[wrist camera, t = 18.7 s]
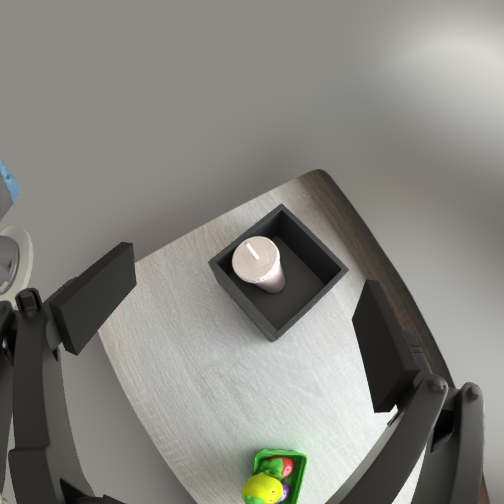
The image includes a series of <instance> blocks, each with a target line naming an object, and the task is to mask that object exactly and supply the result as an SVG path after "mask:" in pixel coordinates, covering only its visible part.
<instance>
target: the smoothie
mask: <svg viewBox="0 0 504 504" xmlns="http://www.w3.org/2000/svg"><path fill="white" fill-rule="evenodd" d="M279 260H280V255H279V251H278V249H277V247H276V246H275V244H274V243H273V242H272V241H271V240H270V239H268V238H265V237H261V236H256V237H251V238H249V239H247V240H245V241H243V242H242V243H241V244H240V245H239V246H238V247H237V249H236V250H235V252H234V255H233V259H232V265H233V268H234V271H235V272H236V274H237V275H238V276H239V277H240V278H241V279H242V280H244V281H246V282H249V283H253V284H255V285H257V286H258V287H260V288H262V289H264V290H265V291H267V292H269V293H278V292H280V291H281V290H282V289H283V288H284V286H285V277H284V274H283V271H282V267H281V264H280V261H279Z"/></svg>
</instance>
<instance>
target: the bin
mask: <svg viewBox="0 0 504 504" xmlns="http://www.w3.org/2000/svg"><path fill="white" fill-rule="evenodd" d="M256 236H261V237H265V238H268V239H270V240H271V241H272V242H273V243H274V244H275V246H276V247H277V249H278V251H279V255H280V260H279V261H280V264H281V267H282V271H283V274H284V277H285V286H284V288H283V289H282V290H281V291H280V292H278V293H269V292H267V291H265V290H264V289H262V288H260V287H258V286H257V285H255V284H253V283H249V282H246V281H244V280H242V279H241V278H240V277H239V276H238V275H237V274H236V272H235V271H234V268H233V265H232V259H233V255H234V252H235V250H236V249H237V247H238V246H239V245H240V244H241V243H242V242H243V241H245V240H247V239H249V238H251V237H256ZM208 263H209V265H210V267H211V269H212V271H213V273H214V275H215V277H216V279H217V281H218V282H219V284H220V285H221V286H222V287H223V288H224V289H225V291H226V292H227V293H228V294H229V295H230V296H231V297H232V299H233V300H234V301H235V302H236V303H237V304H238V305H239V307H240V308H241V309H242V310H243V311H244V312H245V313H246V314H247V316H248V317H249V318H250V319H251V320H252V321H253V322H254V323H255V324H256V326H257V327H258V328H259V329H260V330H261V331H262V332H263V333H264V334H265V335H266V337H267V338H268V339H269V340H270V341H271V342H274V341H275V340H277V339H278V338H279V337H281V336H282V335H283V334H284V333H285V332H286V331H287V330H288V329H289V328H290V327H292V326H293V325H294V324H295V323H296V322H297V321H298V320H299V319H300V318H301V317H302V316H303V315H304V314H306V313H307V312H308V311H309V310H310V309H311V308H312V307H313V306H314V305H315V304H316V303H317V302H318V301H319V300H320V299H321V298H322V297H323V296H324V295H325V294H326V293H327V292H328V291H329V290H330V289H331V288H332V287H333V286H334V285H335V284H336V283H337V282H338V281H339V280H340V279H341V278H342V277H343V276H344V275H345V274H346V273H347V272H348V271H349V269H348V268H347V267H346V266H345V265H344V264H343V263H342V262H341V261H340V260H339V259H338V258H337V257H336V256H335V255H334V254H333V253H332V251H331V250H330V249H329V248H328V247H327V246H326V245H325V244H324V243H322V242H321V241H320V240H319V239H318V238H317V237H316V236H315V235H314V234H313V233H312V232H311V231H310V230H309V229H308V228H307V227H306V226H305V225H304V224H303V223H302V222H301V221H300V220H299V219H298V218H297V217H296V216H295V215H294V214H293V213H292V212H290V211H289V210H288V209H287V208H286V207H285V206H284V205H283V204H280V205H279V206H278V207H276V208H275V209H274V210H272V211H271V212H270V213H269V214H267V215H266V216H265V217H264V218H262V219H261V220H260V221H259V222H257V223H256V224H255V225H253V226H252V227H251V228H250V229H248V230H247V231H246V232H245V233H243V234H242V235H241V236H240V237H238V238H237V239H236V240H235V241H233V242H232V243H231V244H230V245H228V246H227V247H226V248H225V249H223V250H222V251H221V252H220V253H218V254H217V255H216V256H215V257H213V258H212V259H211V260H210V261H208Z"/></svg>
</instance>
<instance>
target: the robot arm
mask: <svg viewBox="0 0 504 504" xmlns="http://www.w3.org/2000/svg"><path fill="white" fill-rule="evenodd" d="M19 194H20V186H19V184H18V182H17V181H16V179H15V178H14V176H13V175H12V174H11V172H10V171H9V169H8V168H7V166H6V165H5V163H4V162H3V160H2V159H1V158H0V220H1V219H2V218H3V217H4V215H5V214H6V213H7V211H8V210H9V209H10V207H11V206H12V205H13V204H14V201H15V200H16V199H17V197H18V196H19ZM19 261H20V251H19V246H18V244H17V242H16V241H15V240H14V239H12V238H10V237H8V236H1V235H0V295H3V294H5V293H6V292H7V291H8V290H9V289H10V287H11V286H12V284H13V282H14V280H15V278H16V275H17V272H18V268H19ZM136 285H137V284H136V275H135V264H134V253H133V244H132V243H126V242H121V243H120V244H119V245H117V246H116V247H115V248H113V249H112V250H111V251H109V252H108V253H107V254H106V255H104V256H103V257H102V258H101V259H99V260H98V261H97V262H96V263H95V264H93V265H92V266H91V267H89V268H88V269H87V270H86V271H84V273H82V274H81V275H80V276H79V277H75V278H73V279H71V280H69V281H67V282H66V283H65V284H64V285H63V286H62V287H60V288H59V289H58V291H56V292H55V293H53V294H52V295H51V296H50V297H49V298H48V299H47V300H46V301H45V302H43V303H42V301H41V298H40V295H39V292H38V290H37V289H35V288H26V289H23V290H21V291H20V292H18V293H17V294H16V296H15V301H16V304H17V306H18V309H19V310H13V307H12V304H11V302H9V301H7V300H4V301H0V504H8V502H7V501H6V500H5V499H4V498H3V497H2V491H3V487H4V480H5V471H6V457H7V446H8V437H9V430H10V423H11V418H12V412H13V425H14V437H15V448H14V449H12V450H10V451H9V453H8V461H9V467H10V474H11V479H12V484H13V489H14V493H15V498H16V501H17V504H125V503H123V502H120V501H118V500H116V499H114V498H111V497H109V496H107V495H105V494H104V496H103V498H101V497H95V495H94V492H93V490H92V488H91V486H90V485H89V483H88V482H87V480H86V479H85V477H84V475H83V472H82V469H81V466H80V463H79V459H78V456H77V452H76V448H75V444H74V440H73V436H72V432H71V427H70V422H69V417H68V412H67V406H66V401H65V395H64V386H63V378H62V369H61V357H60V350H59V347H58V345H59V344H60V343H61V342H62V343H63V345H64V348H65V350H66V351H68V352H70V353H72V354H74V355H78V354H79V353H80V352H81V350H82V349H83V348H84V347H85V345H86V344H87V343H88V342H89V340H90V339H91V338H92V337H93V335H94V334H95V333H96V332H97V330H98V329H99V328H100V327H101V326H102V324H103V323H104V322H105V321H106V319H107V318H108V317H109V316H110V315H111V314H112V312H113V311H114V310H115V309H116V308H117V306H118V305H119V304H120V303H121V302H122V301H123V299H124V298H125V297H126V296H127V295H128V294H129V293H130V291H131V290H132V289H133V288H134V287H135V286H136ZM352 322H353V326H354V330H355V333H356V337H357V341H358V344H359V348H360V352H361V356H362V360H363V364H364V368H365V372H366V377H367V381H368V385H369V390H370V394H371V399H372V404H373V409H374V413H381V412H390V411H391V410H392V408H393V407H394V406H395V405H397V409H398V412H397V413H396V414H395V415H394V416H393V418H392V419H391V420H390V421H389V422H388V423H387V425H388V426H387V428H386V429H385V431H384V432H383V434H382V435H381V437H380V438H379V439H378V441H377V442H376V444H375V445H374V446H373V448H372V449H371V450H370V452H369V453H368V454H367V456H366V457H365V458H364V460H363V461H362V462H361V463H360V465H359V466H358V467H357V468H356V470H355V471H354V472H353V473H352V475H351V476H350V477H349V478H348V479H347V480H346V482H345V483H344V484H343V485H342V486H341V487H340V488H339V489H338V490H337V492H336V493H335V494H334V495H333V496H332V497H331V498H330V499H329V500H328V501H327V502H326V503H325V504H392V502H393V501H394V499H395V498H396V496H397V495H398V493H399V492H400V490H401V489H402V487H403V485H404V484H405V482H406V480H407V479H408V477H409V475H410V474H411V472H412V470H413V468H414V467H415V465H416V463H417V461H418V459H419V457H420V455H421V453H422V451H423V449H424V447H425V445H426V443H427V446H426V451H425V455H424V460H423V464H422V468H421V472H420V475H419V479H418V482H417V486H416V489H415V492H414V495H413V498H412V501H411V504H477V503H478V498H479V492H480V486H481V479H482V471H483V460H484V443H485V410H484V396H483V392H482V390H481V388H480V387H479V386H478V385H476V384H474V383H471V382H467V383H465V384H464V385H463V386H462V388H461V389H460V390H459V389H455V388H450V387H448V386H447V383H446V382H445V380H444V379H443V378H442V377H440V376H439V375H436V374H433V373H432V371H431V369H430V366H429V364H428V362H427V360H426V358H425V355H424V353H423V351H422V349H421V347H420V345H419V343H418V341H417V339H416V337H415V336H414V335H413V334H412V333H411V332H410V331H403V329H402V327H401V325H400V322H399V320H398V318H397V316H396V314H395V312H394V310H393V308H392V306H391V304H390V302H389V300H388V298H387V296H386V295H385V293H384V291H383V289H382V287H381V285H380V283H379V281H374V280H367V279H366V281H365V284H364V287H363V290H362V293H361V296H360V299H359V301H358V304H357V307H356V310H355V312H354V315H353V318H352ZM3 340H4V342H5V344H6V345H5V348H3V346H2V344H3Z"/></svg>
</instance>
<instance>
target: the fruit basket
mask: <svg viewBox="0 0 504 504" xmlns="http://www.w3.org/2000/svg"><path fill="white" fill-rule="evenodd" d="M306 464H307V456H306V455H304V454H301V453H298V452H295V451H293V450H290V451H286V450H276V449H272V450H268V449H263V450H262V451H261V452H259V453H258V454H256V456H255V462H254V468H253V474H252V477H250V478H249V479H248V480H247V482H246V483H245V486H244V488H243V490H242V498H243V500H244V501H245V503H246V504H297V501H298V497H299V493H300V489H301V485H302V481H303V476H304V472H305V468H306Z"/></svg>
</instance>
